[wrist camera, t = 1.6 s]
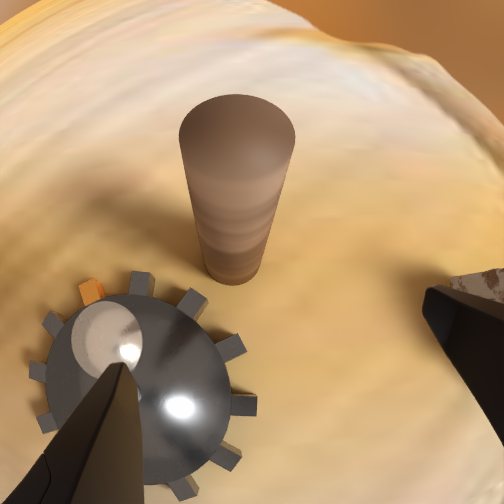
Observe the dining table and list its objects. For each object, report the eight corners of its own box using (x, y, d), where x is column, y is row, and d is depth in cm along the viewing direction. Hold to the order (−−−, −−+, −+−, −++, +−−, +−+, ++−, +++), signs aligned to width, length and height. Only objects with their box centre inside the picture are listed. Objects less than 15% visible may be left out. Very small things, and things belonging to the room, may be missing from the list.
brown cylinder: (259, 287, 22) (296, 183, 10) (201, 283, 22) (168, 175, 9) (261, 234, 23) (293, 99, 11) (207, 230, 23) (189, 92, 11)
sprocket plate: (249, 506, 16) (251, 519, 14) (40, 464, 15) (27, 470, 13) (260, 286, 22) (263, 278, 20) (54, 268, 21) (41, 259, 19)
